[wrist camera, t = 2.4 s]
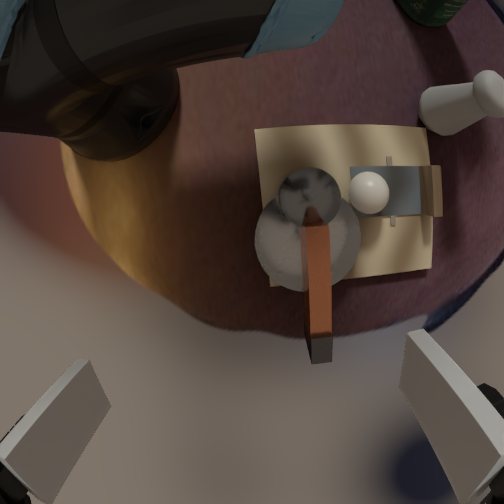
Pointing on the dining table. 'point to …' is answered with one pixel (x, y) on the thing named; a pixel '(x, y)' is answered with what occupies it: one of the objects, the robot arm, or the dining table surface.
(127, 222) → the dining table surface
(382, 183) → the ball
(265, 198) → the stand
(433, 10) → the coffee jar
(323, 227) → the grey round-based piece
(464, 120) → the salt shaker
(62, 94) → the robot arm
